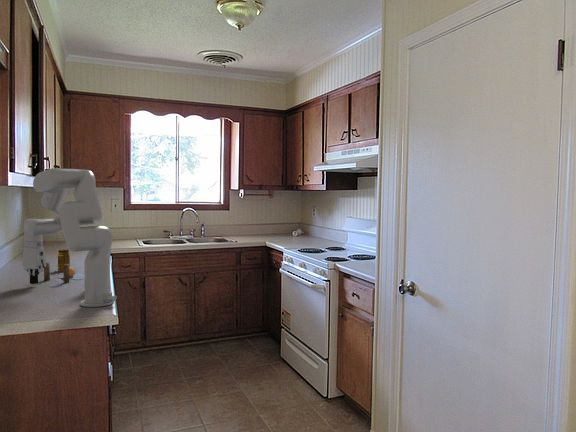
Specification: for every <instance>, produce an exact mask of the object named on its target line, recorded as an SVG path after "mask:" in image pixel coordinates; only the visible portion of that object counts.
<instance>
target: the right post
mask: <svg viewBox="0 0 576 432" xmlns="http://www.w3.org/2000/svg"><path fill="white" fill-rule="evenodd" d="M62 273H63V275H62V276H63V278H62V280H63V283H64V284H69V283H70V279H69V264H64V265H63V272H62Z"/></svg>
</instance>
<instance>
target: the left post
mask: <svg viewBox="0 0 576 432" xmlns="http://www.w3.org/2000/svg"><path fill="white" fill-rule="evenodd" d="M50 267H51V264H50V262H48V261H46V267H45V268H43V270H44V271H43V282H50V281H51V277H50V276H51V275H50V273H51V271H50V270H51V268H50Z"/></svg>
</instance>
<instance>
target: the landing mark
mask: <svg viewBox="0 0 576 432" xmlns="http://www.w3.org/2000/svg"><path fill="white" fill-rule="evenodd" d="M56 278H57V279H63V275H62V276H59V277H56ZM69 280H74V281H81V280H85V277H84V273H79V272H77V273H76V272H75V275H74V276H73V277H70V278H69Z"/></svg>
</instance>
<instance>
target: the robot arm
mask: <svg viewBox="0 0 576 432" xmlns="http://www.w3.org/2000/svg"><path fill="white" fill-rule="evenodd" d="M96 180H97V179H96V176H95V174H94V173H93V172H92V170H89V169H79V168H78V169H77V168H58V167H57V168H54V167H53V168H49V169H48V168H47V169H45V170H43V171H40V172H38V173H37V174H36V175H35V176H34V178H33V182H32V185H33V186H32V187H33V189H34V190H35V192H36V193H43V195H42V197H41V199H40V203H41V205H42V206H43V207H44V208H45V209H47V210H49V211H51V212H54V213H56V214H55V216H54V217H53V218H26V219H24V221H23V239H24V241H23V246H24V247H23V253H22V268H24V269H23V270H24V271H26V272H27V273H28V276H29V284H30V285H34V284H35V285H36V284H38V283H39V275H40V274H41V273H42V272H44V268H45V267H46V262H47V259H46V252H45V251H46V250H45V248H44V247H43V246H44V242H43V236H51V235H52V236H53V235H58V234H59V233H60V232H61V231H62V234H63V237H64V242H65V244H66V247H67V249H68V250H69V251H72V252H76V253H77V252H86V251H88V252H87V254H86V256H85V258H84V263H83V264H84V266H83V271H84V273H83V274H84V277H85V279H84V299H82V300H81V301H80V303H79V305H80V306H81V307H86V308H100V307H106V306H109V305H112V304H114V303H115V302H116V300H117V299H118V296H117V295H113V292H112V291H111V249H112V245H113V235H114V234H113V232H112V231H111V229H110V228H109V227H107V226H104V225H96V224H98V223H100V222H101V221H102V219H103V212H102V207H101V204H100V199H99V197H98V193H97V187H96ZM69 190H73V194H74V200H75V201H74V200H72V201H65V199H66V196H67V194H68V191H69ZM86 225H89V226H86Z"/></svg>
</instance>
